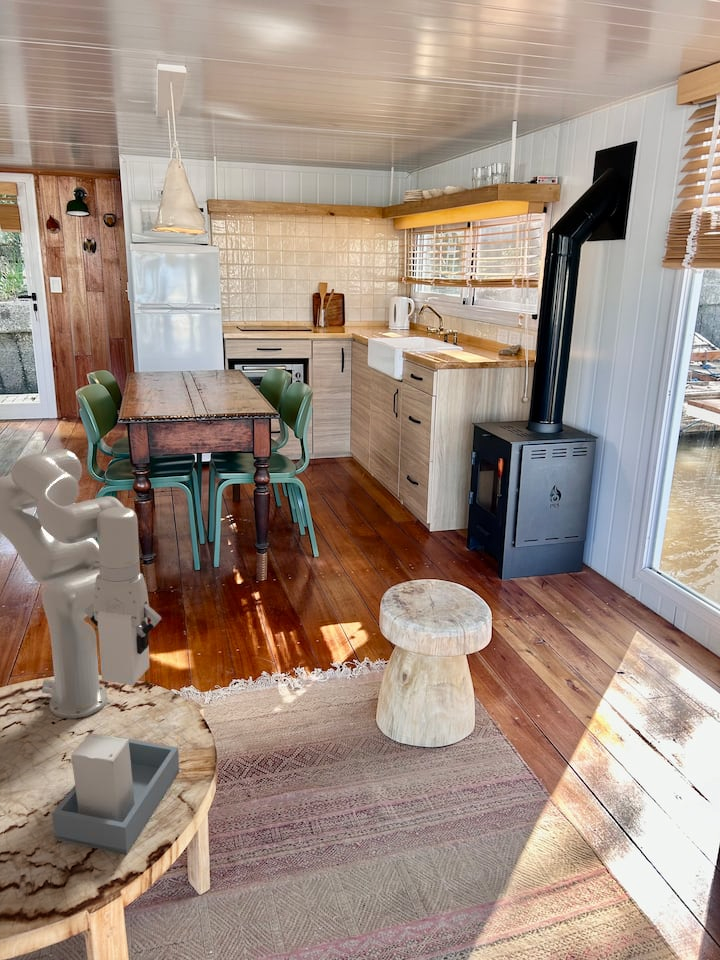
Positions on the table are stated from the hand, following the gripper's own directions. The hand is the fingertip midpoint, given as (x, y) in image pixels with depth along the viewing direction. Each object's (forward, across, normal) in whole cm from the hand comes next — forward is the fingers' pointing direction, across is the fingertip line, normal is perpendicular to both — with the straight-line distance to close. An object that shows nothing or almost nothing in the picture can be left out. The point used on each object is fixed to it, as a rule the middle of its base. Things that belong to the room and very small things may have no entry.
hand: (124, 647), depth 151 cm
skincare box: (+23, +6, -21) cm, 32 cm away
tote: (+24, +6, -17) cm, 30 cm away
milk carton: (+7, 0, 0) cm, 7 cm away
